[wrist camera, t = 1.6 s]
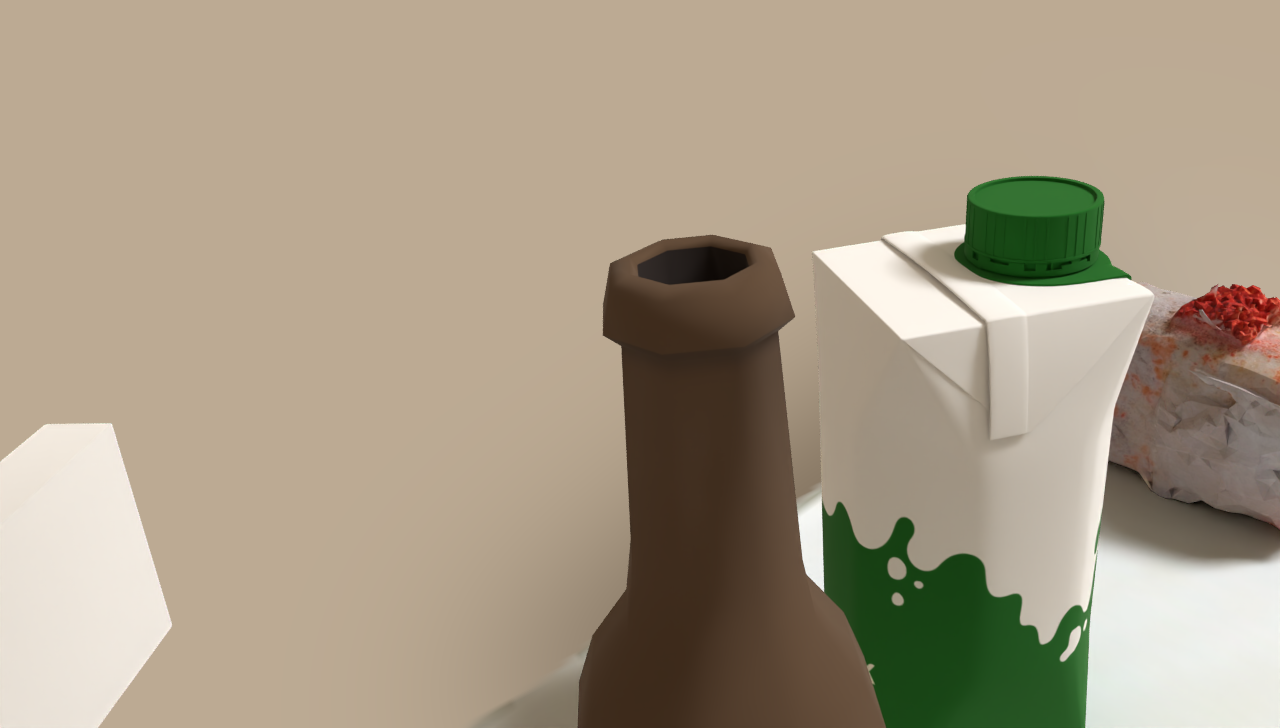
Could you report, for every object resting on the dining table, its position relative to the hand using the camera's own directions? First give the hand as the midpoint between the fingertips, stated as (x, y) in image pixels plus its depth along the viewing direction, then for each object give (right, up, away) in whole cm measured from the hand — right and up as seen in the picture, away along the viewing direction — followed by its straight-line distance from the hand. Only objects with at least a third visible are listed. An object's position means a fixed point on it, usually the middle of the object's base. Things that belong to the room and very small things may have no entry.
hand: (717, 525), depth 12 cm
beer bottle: (+2, -18, +19) cm, 26 cm away
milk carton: (+11, -12, +30) cm, 34 cm away
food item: (+27, -4, +42) cm, 50 cm away
